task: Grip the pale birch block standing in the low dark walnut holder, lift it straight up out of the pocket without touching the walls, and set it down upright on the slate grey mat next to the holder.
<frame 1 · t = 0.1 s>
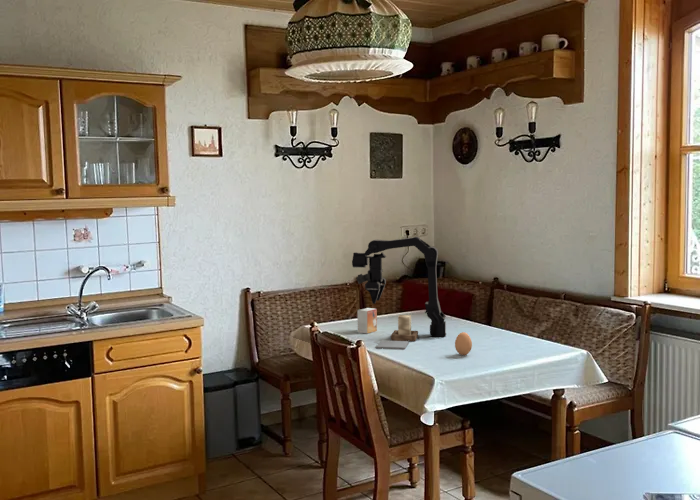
hand: (375, 302, 324), 15 cm above the table, tool pointing down, fingers open, 9 cm apart
slate mat: (392, 345, 300), on the table
small box: (367, 332, 330), on the table
egg: (463, 355, 282), on the table
birch block: (404, 327, 314), in the walnut holder
walnut holder: (404, 338, 314), on the table
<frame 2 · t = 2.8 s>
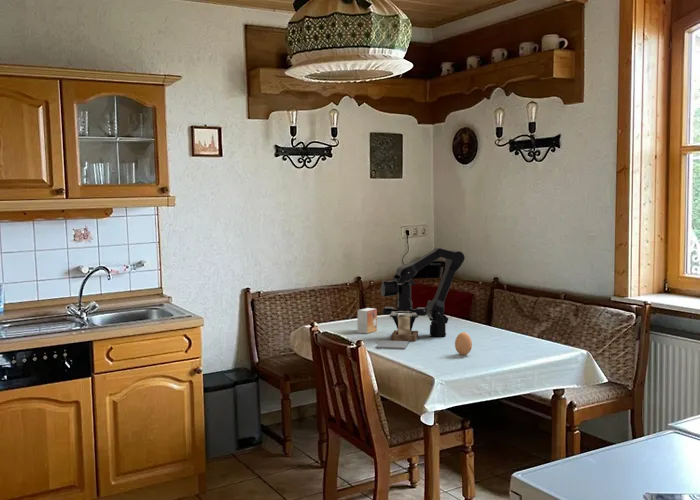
hand: (404, 330, 314), 4 cm above the table, tool pointing down, fingers closed on birch block, 5 cm apart
birch block: (404, 327, 314), in the walnut holder, touching gripper
everything else where it was.
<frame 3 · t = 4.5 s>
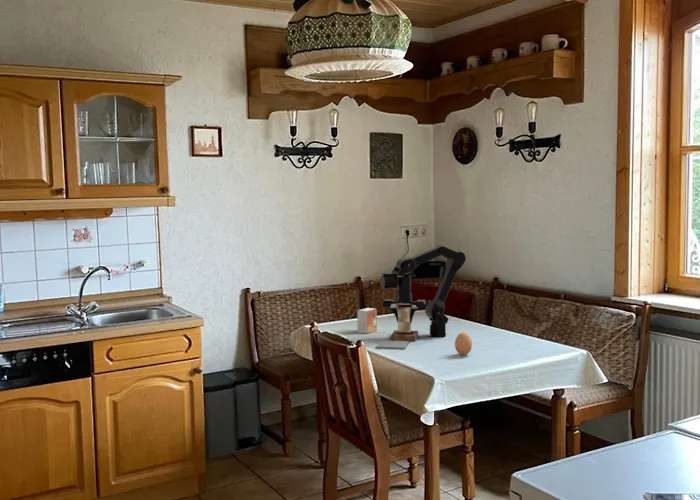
hand: (404, 323, 314), 7 cm above the table, tool pointing down, fingers closed on birch block, 5 cm apart
birch block: (404, 319, 314), point 8 cm above the table, touching gripper
everything else where it was.
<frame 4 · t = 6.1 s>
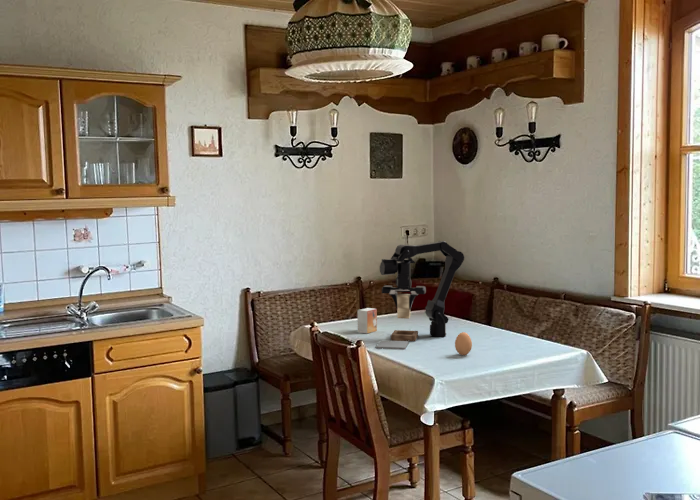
hand: (403, 309, 312), 13 cm above the table, tool pointing down, fingers closed on birch block, 5 cm apart
birch block: (403, 306, 312), point 14 cm above the table, touching gripper
everything else where it was.
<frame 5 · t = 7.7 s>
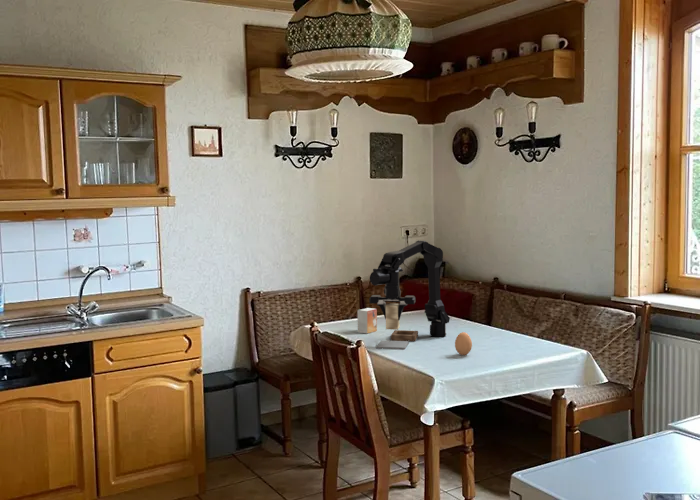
hand: (392, 320, 299), 11 cm above the table, tool pointing down, fingers closed on birch block, 5 cm apart
birch block: (392, 316, 299), point 12 cm above the table, touching gripper
everything else where it was.
when the fingers open (6 cm above the table, at t = 9.3 s): birch block drops 1 cm, resting on slate mat.
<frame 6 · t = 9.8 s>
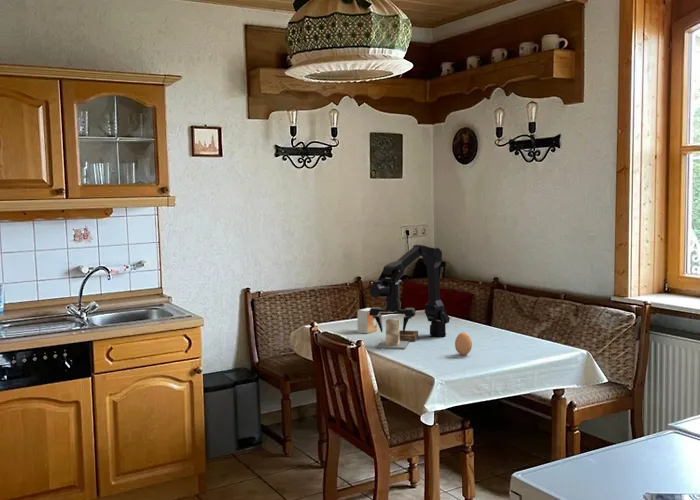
hand: (392, 332, 300), 6 cm above the table, tool pointing down, fingers open, 9 cm apart
birch block: (392, 332, 300), on the slate mat, point 6 cm above the table
everything else where it was.
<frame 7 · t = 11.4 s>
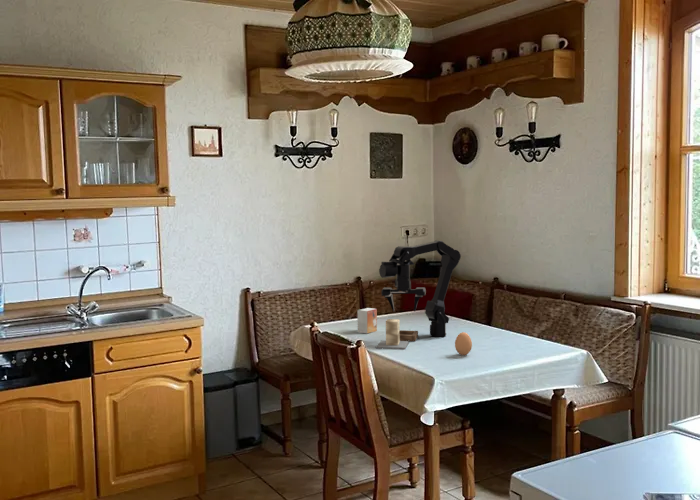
hand: (404, 311, 310), 13 cm above the table, tool pointing down, fingers open, 9 cm apart
nothing on the table moved.
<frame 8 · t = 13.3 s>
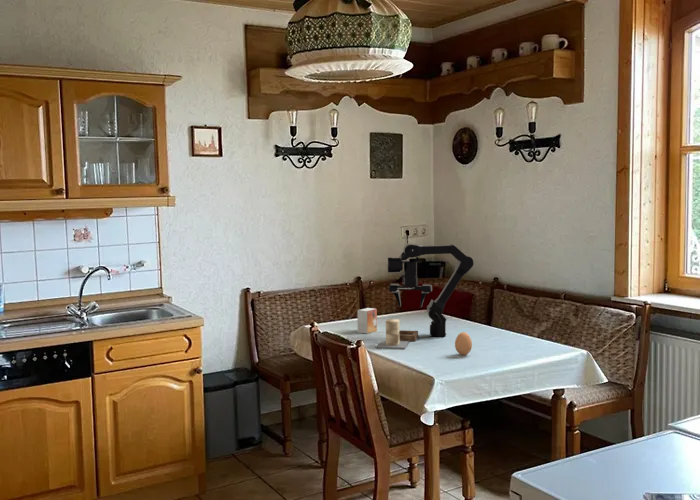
hand: (410, 307, 318), 13 cm above the table, tool pointing down, fingers open, 9 cm apart
nothing on the table moved.
at the end: birch block inside the target area on the slate mat (0.1 cm from its centre), point 5.8 cm above the slate mat's base; birch block tilted 0°; birch block touching slate mat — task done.
